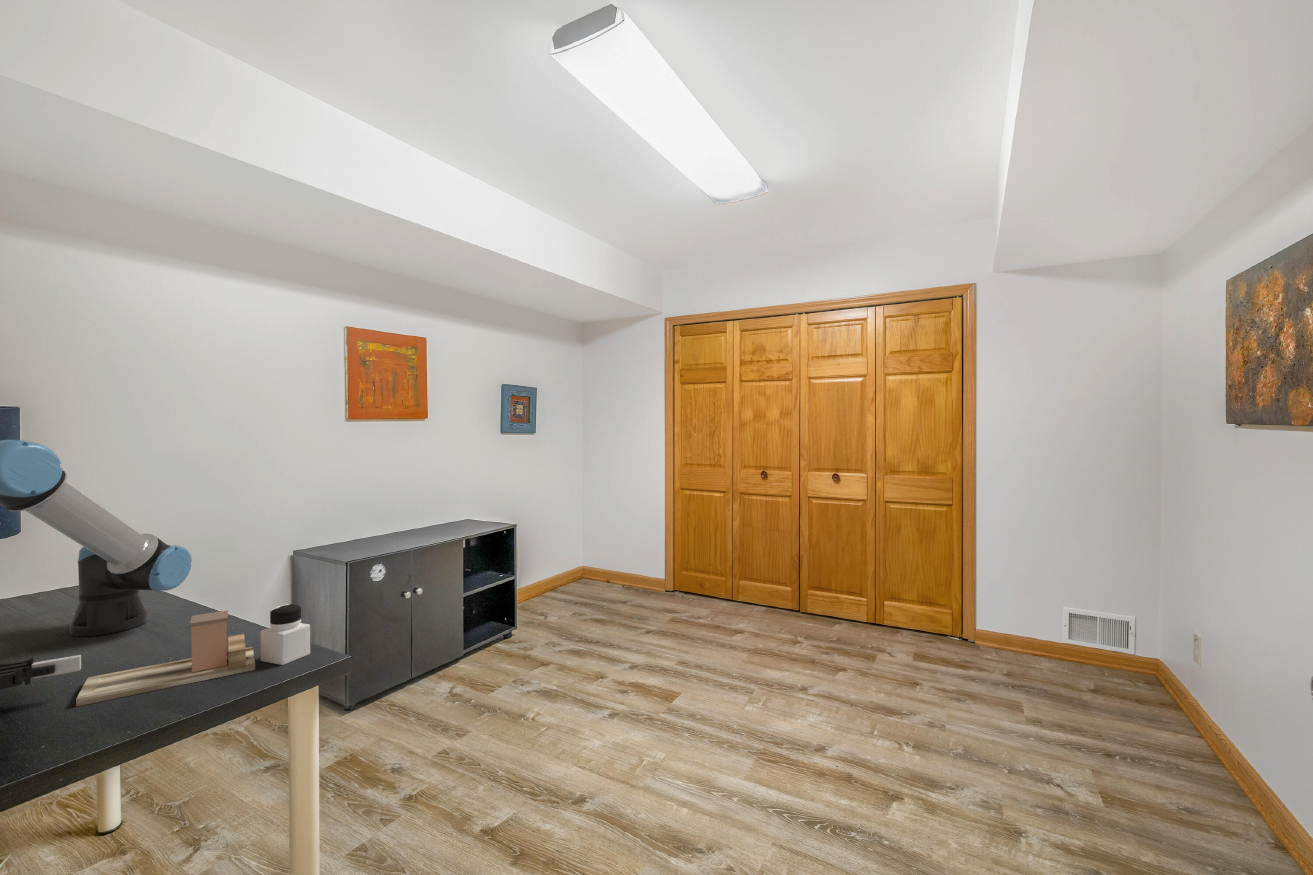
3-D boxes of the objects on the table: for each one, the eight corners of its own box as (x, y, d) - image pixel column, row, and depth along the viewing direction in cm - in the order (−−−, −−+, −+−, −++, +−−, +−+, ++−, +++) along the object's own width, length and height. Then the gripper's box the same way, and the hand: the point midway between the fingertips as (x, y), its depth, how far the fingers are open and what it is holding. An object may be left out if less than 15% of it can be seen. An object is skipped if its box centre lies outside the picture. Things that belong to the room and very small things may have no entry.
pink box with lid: (191, 663, 126) (191, 615, 126) (227, 656, 130) (227, 610, 130) (190, 672, 121) (190, 623, 121) (228, 665, 125) (227, 617, 125)
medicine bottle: (311, 653, 135) (310, 603, 134) (282, 665, 128) (282, 612, 128) (289, 650, 137) (288, 600, 137) (259, 661, 130) (259, 609, 130)
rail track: (88, 684, 118) (88, 660, 118) (253, 652, 135) (253, 631, 135) (76, 706, 109) (76, 680, 109) (255, 669, 126) (255, 647, 125)
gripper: (-94, 702, 104) (86, 670, 118) (-129, 732, 94) (73, 693, 108) (-95, 662, 104) (86, 634, 118) (-130, 687, 94) (73, 653, 108)
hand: (80, 662), depth 113 cm, fingers closed
